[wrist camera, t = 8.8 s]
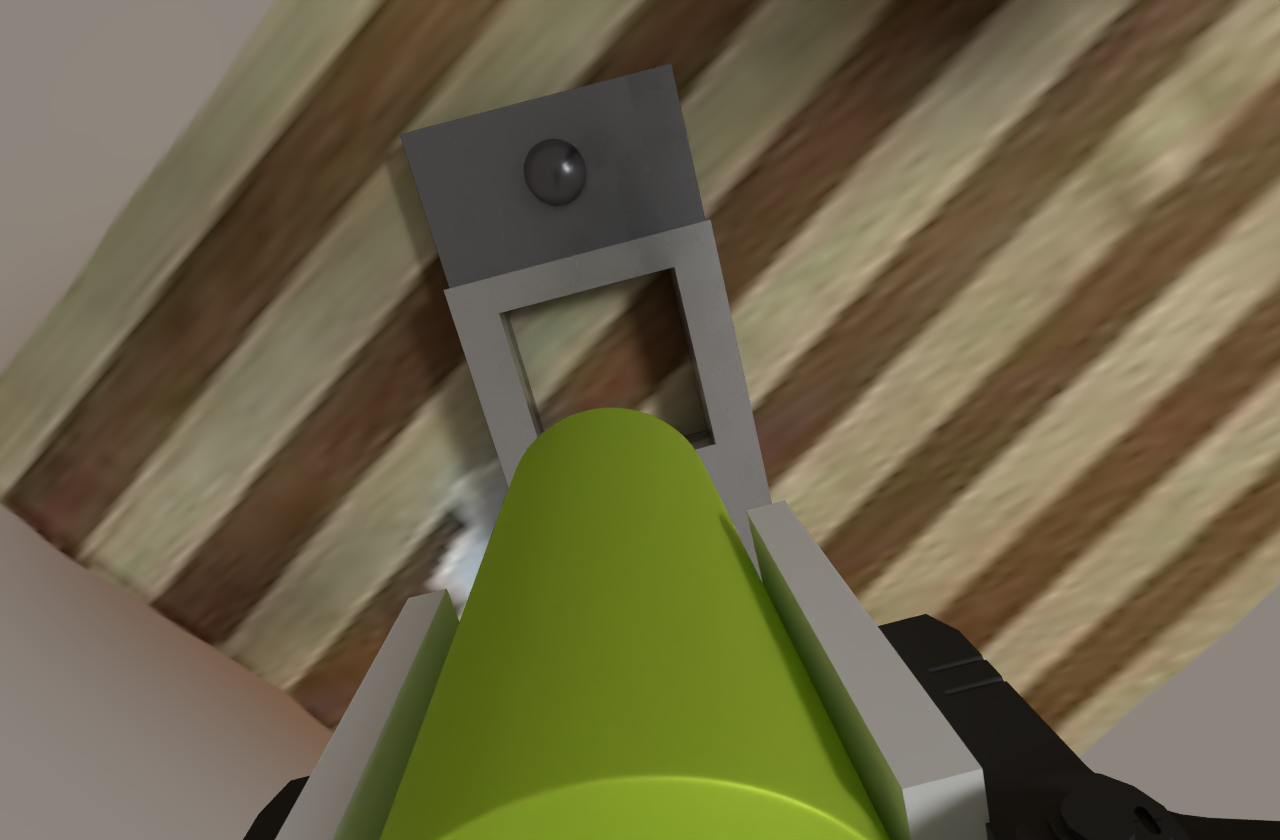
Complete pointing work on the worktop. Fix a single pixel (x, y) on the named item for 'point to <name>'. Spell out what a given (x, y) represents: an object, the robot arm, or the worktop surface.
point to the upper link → (709, 335)
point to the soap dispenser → (623, 668)
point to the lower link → (557, 181)
